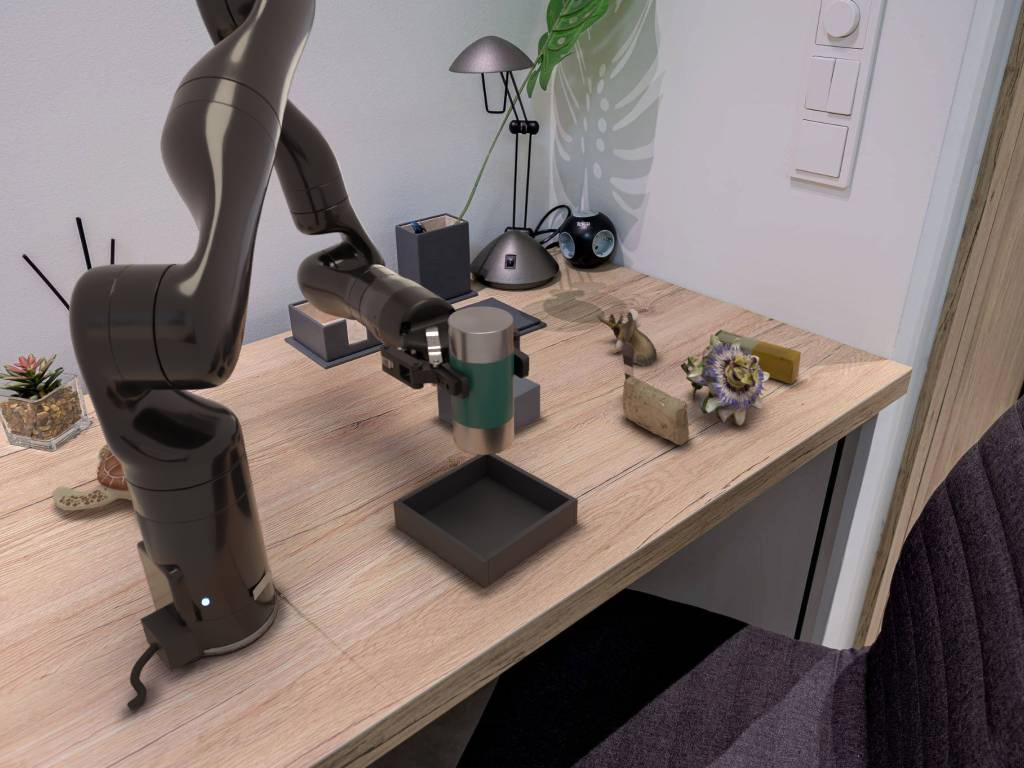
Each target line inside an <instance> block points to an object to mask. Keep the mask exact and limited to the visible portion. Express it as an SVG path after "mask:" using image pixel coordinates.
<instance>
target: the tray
mask: <svg viewBox="0 0 1024 768" xmlns="http://www.w3.org/2000/svg"><path fill="white" fill-rule="evenodd" d="M392 505H393V513H394V523H395V524H394V525H395V527H396V528H397V529H399V530H400V531H402V532H404V533H405V534H406V535H407V536H409V537H410V538H412V539H413V540H414V541H416V542H418V543H419V544H420V545H422V546H423V547H425V548H426V549H428V550H429V551H430V552H432V553H433V554H435V555H436V556H438V557H439V558H440V559H442V560H443V561H445V562H446V563H448V564H449V565H450V566H451V567H453V568H455V569H456V570H458V571H459V572H460V573H462V574H463V575H464V576H466V577H467V578H469V579H470V580H471V581H473V582H475V583H476V584H477V585H479V586H480V587H482V588H483V589H486V588H488V586H490V585H492V584H493V583H495V582H496V581H498V580H499V579H500V578H501V577H503V576H505V575H506V574H507V573H509V572H510V571H511V570H513V569H514V568H516V567H517V566H518V565H520V564H522V563H524V562H525V561H526V560H527V559H529V558H530V557H532V556H533V555H534V554H536V553H537V552H539V551H540V550H542V549H543V548H544V547H546V546H548V544H550V543H551V542H553V541H554V540H556V539H557V538H559V537H560V536H561V535H563V534H564V533H566V532H567V531H569V530H570V529H571V528H573V527H574V526H575V525H577V524H578V509H579V508H578V507H579V506H578V505H579V499H578V498H576V497H574V496H573V495H571V494H569V493H567V492H565V491H563V490H562V489H560V488H558V487H556V486H554V485H552V484H551V483H549V482H547V481H545V480H543V479H542V478H540V477H538V476H536V475H534V474H533V473H530V472H529V471H527V470H525V469H523V468H522V467H520V466H518V465H516V464H515V463H513V462H510V461H509V460H507V459H506V458H503V457H502V456H500V455H498V454H497V453H495V454H490V455H475V456H473V457H471V458H469V459H467V460H465V461H464V462H462V463H461V464H459V465H457V466H455V467H452V469H449V470H447V471H446V472H445V473H443V474H440V475H439V476H437V477H435V478H433V479H432V480H430V481H428V482H426V483H424V484H423V485H421V486H419V487H417V488H416V489H413V490H412V491H410V492H408V493H407V494H405V495H403V496H402V497H399V498H398V499H396V500H394V501H393V502H392Z"/></svg>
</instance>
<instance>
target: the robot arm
mask: <svg viewBox="0 0 1024 768" xmlns="http://www.w3.org/2000/svg"><path fill="white" fill-rule="evenodd" d="M195 4H196V7H197V10H198V13H199V15H200V18H201V20H202V23H203V26H204V28H205V29H206V31H207V34H208V36H209V38H210V40H211V43H212V44H213V47H212V48H210V49H209V50H208V51H207V52H206V53H205V54H203V56H201V57H200V58H199V59H198V60H197V61H196V62H195V64H194V65H192V66H191V67H190V68H189V70H188V71H187V72H186V74H185V75H184V76H183V77H182V79H181V80H180V82H179V84H178V85H177V88H176V89H175V92H174V95H173V97H172V101H171V103H170V106H169V109H168V111H167V114H166V118H165V121H164V124H163V127H162V131H161V135H160V141H159V142H160V143H159V147H160V155H161V160H162V163H163V166H164V168H165V169H164V170H165V171H166V174H167V176H168V178H169V180H170V182H171V183H172V185H173V187H174V189H175V190H176V192H177V193H178V195H179V197H180V199H181V200H182V202H183V203H184V204H185V207H186V208H187V209H188V211H189V213H190V214H191V216H192V218H193V221H194V223H195V226H196V227H197V230H198V240H197V246H196V248H195V251H194V254H193V256H191V258H190V259H189V260H188V261H187V262H185V263H119V264H118V263H117V264H114V263H113V264H102V265H97V266H94V267H92V268H89V269H87V270H86V271H84V272H83V274H81V276H80V277H79V278H78V279H77V281H76V282H75V284H74V286H73V289H72V292H71V296H70V300H69V307H68V325H69V334H70V340H71V346H72V349H73V353H74V357H75V360H76V363H77V366H78V370H79V373H80V375H81V378H82V380H83V383H84V386H85V387H86V390H87V393H88V396H89V399H90V402H91V404H92V406H93V409H94V412H95V416H96V418H97V420H98V423H99V427H100V428H101V432H102V435H103V438H104V441H105V443H106V445H108V447H109V449H110V451H111V452H112V454H113V455H114V456H115V457H116V458H117V460H118V461H119V462H120V464H121V467H122V470H123V473H124V476H125V480H126V483H127V487H128V490H129V493H130V497H131V500H130V501H131V503H132V507H133V512H134V513H135V517H136V521H137V524H138V527H139V531H140V535H141V537H142V538H141V539H142V540H140V541H138V542H137V543H136V548H137V552H138V556H139V559H140V562H141V566H142V568H143V573H144V575H145V579H146V582H147V585H148V589H149V592H150V597H151V598H152V603H153V605H154V609H155V611H153V612H151V613H149V614H147V615H146V616H144V617H141V618H140V622H141V626H142V629H143V633H144V635H145V639H146V642H147V645H149V646H148V648H146V650H145V651H144V652H143V653H142V655H141V656H140V657H139V658H138V659H137V661H135V663H134V665H133V667H132V669H131V671H130V675H129V682H130V686H131V687H132V688H133V690H134V691H136V693H137V694H136V696H135V697H134V698H132V699H131V700H129V701H128V702H127V704H126V705H127V708H129V709H130V710H132V711H134V710H136V709H137V708H138V707H140V706H141V705H142V704H143V703H144V702H145V700H146V698H147V695H148V692H147V691H148V690H147V687H146V686H145V684H144V683H143V682H142V681H141V678H140V677H141V674H142V671H143V669H144V667H145V666H146V665H147V663H148V662H149V661H150V660H151V659H152V658H153V656H154V655H157V656H158V657H159V658H160V659H161V661H162V662H163V663H164V665H165V666H166V667H167V668H168V669H169V670H170V671H171V672H173V671H175V670H177V669H178V668H180V667H182V666H183V665H186V663H188V662H196V661H198V660H200V659H201V658H203V657H206V656H217V655H222V654H226V653H227V654H228V653H230V652H234V651H237V650H239V649H242V648H243V647H245V646H248V645H249V644H251V643H253V642H254V641H256V640H257V639H258V638H259V637H261V636H262V635H263V634H264V633H265V632H266V631H267V630H268V629H269V628H270V627H271V625H272V624H273V622H274V620H275V618H276V616H277V614H278V609H279V601H278V596H277V593H276V590H275V589H276V588H275V585H274V581H273V573H272V569H271V567H270V562H269V558H268V553H267V548H266V544H265V538H264V534H263V529H262V528H263V527H262V523H261V519H260V513H259V509H258V504H257V503H258V502H257V500H256V495H255V494H256V493H255V490H254V489H255V488H254V485H253V480H252V474H251V469H250V466H249V465H250V464H249V460H248V454H247V449H246V443H245V439H244V434H243V433H244V432H243V428H242V424H241V422H240V419H239V418H238V416H237V415H236V414H235V413H234V411H233V410H232V409H230V408H229V407H227V406H225V405H224V404H222V403H220V402H218V401H215V400H213V399H210V398H207V397H204V396H201V395H198V394H196V393H193V392H191V391H200V390H202V391H203V390H209V389H215V388H218V387H220V386H222V385H223V384H225V383H226V382H227V381H228V380H229V379H230V378H231V377H232V374H233V373H234V371H235V369H236V366H237V365H238V361H239V359H240V354H241V351H242V347H243V342H244V337H245V336H244V335H245V329H246V322H247V315H248V307H249V300H250V299H249V298H250V290H251V282H252V281H251V280H252V275H253V273H252V271H253V266H254V265H253V264H254V257H255V250H256V249H255V248H256V241H257V236H258V231H259V225H260V222H261V217H262V213H263V207H264V202H265V198H266V195H267V191H268V187H269V185H270V184H269V183H270V180H271V176H272V173H273V169H274V170H275V174H276V176H277V179H278V182H279V185H280V188H281V191H282V193H283V197H284V199H285V202H286V205H287V208H288V210H289V211H288V212H289V213H290V216H291V219H292V222H293V225H294V227H295V228H296V230H297V231H298V232H299V233H301V234H303V235H306V236H324V235H329V234H337V233H338V234H339V236H340V238H341V241H340V242H337V243H335V244H332V245H329V246H328V247H326V248H323V249H321V250H318V251H316V252H314V253H311V254H309V255H308V256H305V258H304V259H302V261H301V262H300V264H299V265H298V268H297V270H296V271H297V273H296V280H297V281H296V282H297V286H298V288H299V289H298V290H299V291H300V293H301V295H302V296H303V297H304V298H305V300H306V301H307V302H308V303H309V304H310V306H312V307H314V308H315V309H316V310H318V311H320V312H322V313H324V314H327V315H328V316H333V317H336V318H337V317H338V318H343V319H346V320H350V321H356V322H358V323H360V325H362V326H363V327H365V328H366V329H367V330H368V331H369V332H370V333H371V334H372V335H373V337H374V338H376V339H377V340H378V341H379V342H380V343H382V345H381V346H380V347H379V351H380V360H381V362H380V363H381V370H382V372H384V373H386V374H387V375H388V376H391V377H393V378H394V379H396V380H398V382H401V383H403V384H404V385H406V386H407V387H409V388H411V389H412V390H422V389H423V388H425V385H426V384H430V385H431V386H432V387H436V388H437V387H441V388H442V389H443V390H445V391H446V392H447V393H448V394H450V395H452V396H457V397H458V398H460V399H464V398H467V397H469V381H468V378H467V377H466V376H465V375H464V374H463V373H461V372H460V371H458V370H457V369H455V368H454V367H453V366H451V365H450V364H449V333H448V319H449V317H450V316H451V315H452V314H453V313H455V312H456V311H457V310H456V309H455V307H454V306H453V305H452V304H451V303H450V302H449V301H447V300H446V299H444V298H442V297H441V296H439V295H438V294H436V293H434V292H432V291H431V290H429V289H428V288H426V287H424V286H423V285H421V284H420V283H418V282H416V281H414V280H412V279H409V278H407V277H404V276H402V275H401V274H399V273H398V272H395V270H392V269H391V268H389V267H387V266H386V262H385V259H384V256H383V255H382V253H381V251H380V250H379V248H378V246H377V245H376V244H375V242H374V241H373V239H372V238H371V236H370V235H369V234H368V232H367V230H366V229H365V227H364V225H363V223H362V222H361V219H360V217H359V216H358V214H357V212H356V210H355V208H354V206H353V204H352V201H351V198H350V194H349V192H348V188H347V185H346V181H345V178H344V174H343V172H342V168H341V164H340V162H339V159H338V157H337V154H336V152H335V150H334V148H333V147H332V145H331V143H330V142H329V140H328V139H327V137H326V136H325V135H324V134H323V133H322V131H321V130H320V128H318V127H317V126H316V125H315V124H314V123H313V122H312V121H311V120H310V119H309V117H307V116H306V114H305V113H304V112H302V111H301V110H300V109H299V108H298V107H297V106H296V105H295V104H294V102H292V101H291V100H290V99H289V96H290V95H289V94H290V91H291V87H292V84H293V79H294V78H295V77H294V76H295V74H296V70H297V68H298V66H299V63H300V60H301V58H302V55H303V53H304V50H305V48H306V45H307V43H308V40H309V38H310V35H311V32H312V31H313V26H314V21H315V18H316V17H315V16H316V9H317V0H195ZM513 346H514V375H516V376H517V377H519V378H521V379H522V378H527V377H529V375H530V356H529V355H528V354H526V353H525V352H524V351H522V350H521V332H520V330H519V329H517V328H515V326H513Z"/></svg>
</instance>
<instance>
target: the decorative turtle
mask: <svg viewBox="0 0 1024 768" xmlns="http://www.w3.org/2000/svg"><path fill="white" fill-rule="evenodd" d="M97 459H98V460H99V461H100V462H99V466H98V467H97V470H98V471H97V472H96V475H97V476H96V480H97V482H98V483H99V484H100V485H99V486H98V487H96V488H93V489H89V490H76V489H73V488H70V487H68V486H63V485H60V486H57V487H56V488H55V489H54V490H53V491H52V500H53V502H54V504H55V505H56V506H57V507H58V508H59V509H61V510H64V511H79V510H86V509H92V508H93V509H94V508H98V507H103V506H107V505H109V504H111V503H113V502H114V501H116V500H121V499H123V500H124V499H126V500H128V501H132V500H131V497H130V493H129V490H128V487H127V483H126V480H125V476H124V473H123V470H122V467H121V464H120V462H119V461H118V460H117V458H116V457H115V456H114V455H113V454H112V452H111V451H110V449H109V447H108V445H107V444H105V445H104V446H103V447H102V448H101V449H100V450H99V452H98V455H97Z"/></svg>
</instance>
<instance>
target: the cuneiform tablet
mask: <svg viewBox="0 0 1024 768" xmlns="http://www.w3.org/2000/svg"><path fill="white" fill-rule="evenodd" d="M622 360H623V361H622V362H623V369H624V381H623V390H622V400H621V401H622V411H623V414H624V416H625V417H626V418H627V419H628V420H629V421H631V422H633V423H635V424H636V425H638V426H639V427H641V428H643V429H645V430H646V431H648V432H651V433H652V434H653V435H657V436H658V437H661V438H662V439H665V440H668V441H670V442H671V443H673V444H675V445H677V446H684V444H686V443H687V442H688V441H689V437H690V428H689V418H688V405H687V402H686V401H684V400H682V399H680V398H677V397H675V396H672V395H670V394H668V393H666V392H665V391H662V390H660V389H659V388H656V387H655V386H654V385H651V384H649V383H647V382H645V381H643V380H640V378H637V377H635V376H634V375H635V374H634V373H635V372H634V362H633V357H631V356H629V355H626V354H625V353H622Z"/></svg>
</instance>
